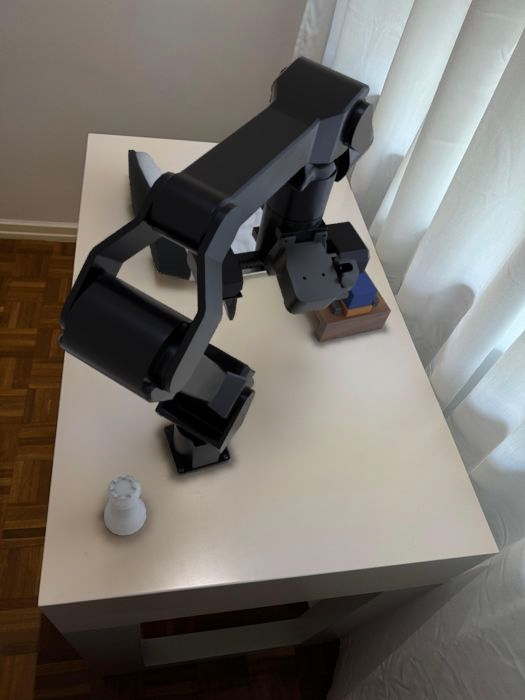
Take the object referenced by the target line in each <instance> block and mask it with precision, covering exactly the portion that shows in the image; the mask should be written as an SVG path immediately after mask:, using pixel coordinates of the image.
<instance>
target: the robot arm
mask: <svg viewBox="0 0 525 700" xmlns="http://www.w3.org/2000/svg"><path fill="white" fill-rule="evenodd" d="M370 91H371V89H370V86H369V84H366V83H364V82H362V81H359V80H357V79H355V78H353V77H350V76H349V75H346V74H344V73H342V72H339V71H338V70H335V69H333V68H331V67H328V66H326V65H324V64H322V63H319V62H317V61H315V60H313V59H311V58H308V57H306V56H303V55H301V56H299V57H297V58H295V59H294V60H292V62H290V63H289V65H288V66H286V67H284V68H282V69H281V70H280V72H279V74H278V76H277V77H276V78H274V80H273V82H272V83H271V87H270V96H269V97H270V98H269V104H268V105H267V106H265V108H264V109H262V110H261V111H260V112H258V113H257V114H256V115H254V116H253V117H252V118H250V119H249V120H248V121H246V122H245V123H243V124H242V125H241V126H240V127H238V128H237V129H236V130H234V131H233V132H232V133H230V134H229V135H228V136H226V137H225V138H224V139H222V140H220V141H219V142H218V143H217V144H216V145H214V146H212V148H210V149H208V150H207V151H206V152H205V153H203V154H202V155H201V156H200V157H198V158H196V160H194V161H193V162H192V163H190V164H189V165H188V166H186V167H185V168H184V169H183V170H181V171H179V172H176V173H175V172H172V171H166V172H163V173H164V174H162V175H161V176H160V177H159V178H158V179H157V180H156V181H155V182H154V184H153V185H152V187H151V189H150V190H149V192H148V194H147V196H146V198H145V200H144V202H143V204H142V206H141V208H140V210H139V212H138V214H137V216H134V218H133V219H131V220H130V221H128V222H127V223H126V224H124V225H122V226H121V227H120V228H119V229H117V230H115V231H114V232H113V233H111V234H110V235H108V236H107V237H106V238H104V239H103V240H101V241H100V242H99V243H97V244H95V245H94V246H93V247H92V248H91V250H89V253H88V254H87V256H86V258H85V260H84V262H83V264H82V267H81V269H80V270H79V273H78V275H77V276H76V278H75V280H74V283H73V285H72V287H71V289H70V291H69V293H68V295H67V297H66V299H65V301H64V303H63V306H62V308H61V311H60V314H59V325H60V327H61V329H62V333H61V334H59V336H58V344H59V346H60V348H61V349H62V350H63V351H64V352H66V353H67V354H69V355H71V356H72V357H74V358H76V359H77V360H78V361H80V362H82V363H84V364H85V365H87V366H88V367H90V368H91V369H94V370H95V371H97V372H98V373H99V374H101V375H103V376H105V377H107V378H108V379H110V380H111V381H113V382H114V383H116V384H118V385H119V386H121V387H123V388H124V389H126V390H128V391H129V392H131V393H133V394H134V395H135V396H137V397H140V398H141V399H142V400H144V401H146V402H147V403H149V404H155V403H157V405H156V406H155V409H154V412H155V413H156V414H157V416H159V417H161V418H162V417H163V418H164V419H165V420H167V421H169V422H170V423H172V424H167V425H165V426H164V427H163V433H164V437H165V439H166V443H167V446H168V449H169V452H170V455H171V458H172V461H173V465H174V467H175V471H176V473H177V474H178V475H179V476H184V475H188V474H191V473H193V472H197V471H201V470H204V469H208V468H211V467H215V466H219V465H222V464H225V463H228V462H230V461H231V454H230V452H229V449H228V447H227V446H228V444H230V443H231V440H232V439H233V438H234V437H235V435H236V434H237V432H238V431H239V429H240V428H241V426H242V425H243V424H244V421H245V419H246V417H247V415H248V412H249V409H250V407H251V405H252V402H253V400H254V398H255V395H256V390H255V389H253V387H254V386H255V379H254V376H255V374H256V370H255V369H252V368H251V367H250V365H248V364H247V363H245V362H243V361H241V360H240V359H238V358H237V357H235V356H233V355H231V354H229V353H228V352H226V351H225V350H222V349H221V348H219V347H217V346H215V345H214V344H212V343H210V342H211V340H212V339H213V336H214V334H215V333H216V331H217V329H218V327H219V325H220V323H221V321H222V319H223V315H224V312H225V314H226V316H227V318H228V320H229V321H231V322H232V321H234V319H235V316H236V314H237V313H236V312H237V306H238V305H237V304H238V299H243V297H244V295H243V293H242V291H243V287H244V284H245V283H244V277H249V276H254V275H262V274H267V276H268V277H271V276H276V280H277V281H276V282H277V284H278V287H279V290H280V293H281V296H282V300H283V305H284V309H285V310H286V311H287V312H288V313H289V314H291V315H300V314H301V315H302V314H304V313H308V312H314V310H322V309H325V308H326V307H327V306H328V305H330V304H331V303H332V302H333V301H334V300H338V299H344V298H347V297H348V295H349V294H348V291H349V290H351V289H352V288H353V287H354V286H355V283H356V280H357V277H358V274H361V273H364V271H366V269H367V266H368V264H369V261H370V260H371V253H370V252H371V251H370V249H369V247H368V245H367V244H366V243H365V241H364V240H363V238H362V237H361V235H360V234H359V232H358V231H357V230H356V228H355V227H354V225H353V224H352V223H351V221H349V220H348V221H340V222H335V223H334V222H333V223H327V224H326V222H325V220H324V219H323V218H324V214H325V212H326V209H327V208H326V207H327V205H328V202H329V198H330V196H331V193H332V189H333V187H334V183H335V182H336V183H339V182H340V181H342V180H343V179H344V178H345V177H346V176H347V175H348V173H350V171H351V170H352V169H353V168H354V167H355V166H356V165H357V163H358V162H359V161H360V160H361V159H362V158H363V156H365V154H366V153H367V152H368V151H369V150H370V148H371V146H372V145H373V143H374V139H375V136H374V126H373V115H374V104H373V103H370V102H369V101H367V97H368V95H369V93H370ZM260 207H261V209H262V211H263V213H262V218H261V222H260V226H257V227H253V230H252V236H253V238H254V240H255V242H256V246H255V251H250V252H243V253H237V254H234V252H233V250H232V248H231V245H232V243H233V241H234V239H235V237H236V234H237V232H238V230H239V227H240V226H241V225H242V224H243V223H244V222H245V221H247V220H248V219H249V218H250V217H251V216H252V215H253V214H254V213H255V212H256V211H257V210H258V209H259V208H260ZM162 236H163V237H165V238H167V239H169V240H171V241H173V242H174V243H176V244H178V245H180V246H182V247H184V248H185V249H187V250H188V254H187V263H188V265H189V267H190V270H191V272H192V275H193V277H194V279H195V281H194V282H195V284H196V300H197V302H196V303H197V304H196V305H197V311H196V313H195V315H194V317H193V319H191V318H190V317H188V316H186V315H185V314H183V313H181V312H179V311H178V310H175V309H174V308H172V307H170V306H169V305H167V304H165V303H163V302H161V301H160V300H158V299H156V298H154V297H152V296H150V295H149V294H148V293H146V292H144V291H142V290H140V289H139V288H137V287H135V286H133V285H131V284H130V283H128V282H126V281H125V280H123V279H121V278H119V277H118V274H119V272H120V270H121V268H122V266H123V264H124V263H125V262H127V261H128V260H130V259H131V258H132V257H134V256H136V255H137V254H138V253H140V252H141V251H143V250H144V249H145V248H147V247H150V246H149V245H150V244H151V243H153V242H154V241H156V240H157V239H159V238H160V237H162ZM224 310H225V311H224ZM225 457H226V458H225ZM181 470H182V471H181Z"/></svg>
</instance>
